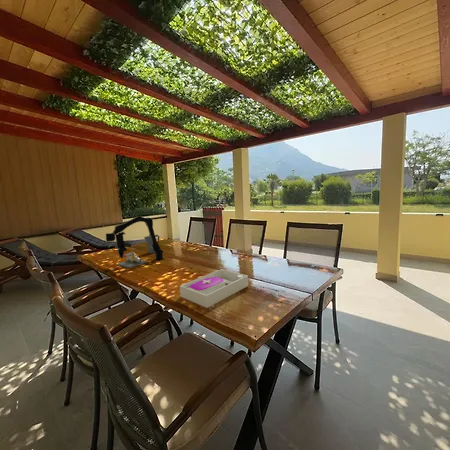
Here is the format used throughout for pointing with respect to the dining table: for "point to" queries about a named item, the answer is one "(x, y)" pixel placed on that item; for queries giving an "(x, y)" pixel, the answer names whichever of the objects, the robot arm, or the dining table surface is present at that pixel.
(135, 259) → the valve body
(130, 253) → the valve lever
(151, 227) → the robot arm
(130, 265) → the valve board
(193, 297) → the white tray with pad
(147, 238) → the moka pot
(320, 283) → the dining table surface
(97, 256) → the dining table surface
